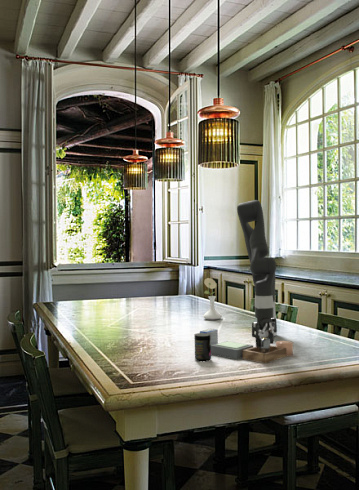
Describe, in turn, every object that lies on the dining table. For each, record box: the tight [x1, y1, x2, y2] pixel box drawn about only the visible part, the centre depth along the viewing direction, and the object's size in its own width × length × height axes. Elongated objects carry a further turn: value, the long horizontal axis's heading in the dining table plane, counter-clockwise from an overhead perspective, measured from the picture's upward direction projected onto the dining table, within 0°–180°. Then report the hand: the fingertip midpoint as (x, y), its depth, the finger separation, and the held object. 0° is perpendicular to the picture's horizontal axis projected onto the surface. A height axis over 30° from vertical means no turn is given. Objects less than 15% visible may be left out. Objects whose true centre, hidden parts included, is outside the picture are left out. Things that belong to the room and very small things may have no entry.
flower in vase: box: [202, 277, 223, 321], centre depth 307 cm, size 13×11×25 cm
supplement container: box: [194, 332, 212, 363], centre depth 207 cm, size 7×7×10 cm
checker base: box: [211, 340, 254, 360], centre depth 216 cm, size 11×14×4 cm
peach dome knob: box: [275, 340, 294, 357], centre depth 213 cm, size 7×7×5 cm
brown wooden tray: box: [242, 344, 287, 364], centre depth 208 cm, size 11×15×4 cm
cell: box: [259, 337, 271, 353], centre depth 208 cm, size 4×4×7 cm
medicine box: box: [199, 328, 219, 345], centre depth 226 cm, size 8×4×9 cm, turn 141°
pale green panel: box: [216, 340, 249, 349], centre depth 215 cm, size 8×11×1 cm
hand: (264, 345), depth 209 cm, fingers open, 8 cm apart
